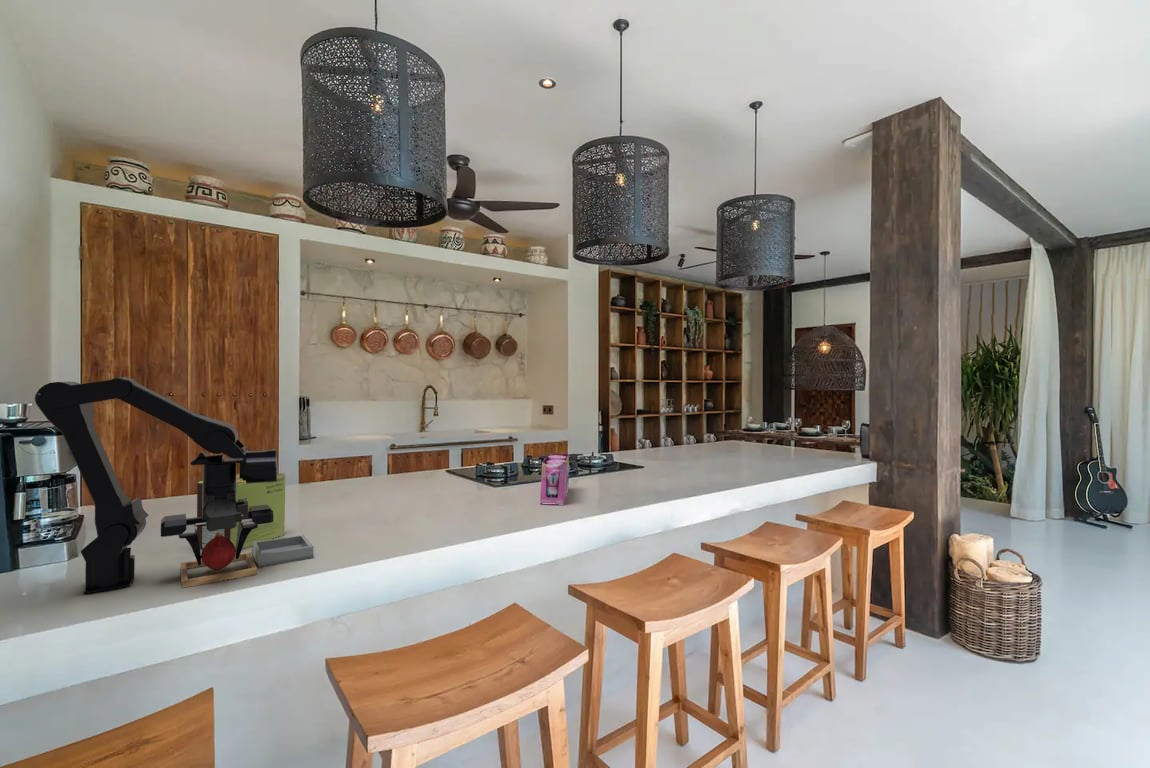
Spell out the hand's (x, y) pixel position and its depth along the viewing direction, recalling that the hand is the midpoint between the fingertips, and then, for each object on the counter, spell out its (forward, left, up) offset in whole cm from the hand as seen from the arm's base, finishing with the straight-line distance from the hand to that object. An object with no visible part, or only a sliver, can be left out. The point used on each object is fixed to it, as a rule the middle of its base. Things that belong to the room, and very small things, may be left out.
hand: (218, 561), depth 107 cm
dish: (+12, +3, -2) cm, 13 cm away
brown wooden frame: (0, 0, -2) cm, 2 cm away
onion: (0, 0, -2) cm, 2 cm away
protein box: (+6, +20, -2) cm, 21 cm away
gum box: (+97, +17, -2) cm, 98 cm away
